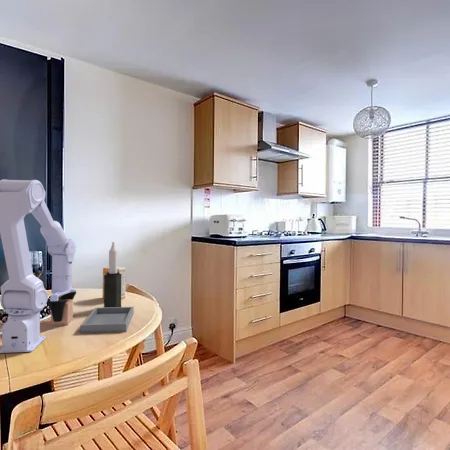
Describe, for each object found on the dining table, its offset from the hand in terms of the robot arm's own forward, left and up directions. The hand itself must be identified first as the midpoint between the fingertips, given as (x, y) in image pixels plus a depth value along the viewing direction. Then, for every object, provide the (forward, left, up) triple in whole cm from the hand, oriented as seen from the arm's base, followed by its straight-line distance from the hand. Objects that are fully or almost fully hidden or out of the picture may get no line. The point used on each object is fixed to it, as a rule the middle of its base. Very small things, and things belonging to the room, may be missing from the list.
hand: (62, 317), depth 105 cm
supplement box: (+29, -11, -2) cm, 31 cm away
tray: (-1, -15, -2) cm, 15 cm away
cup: (0, 0, -2) cm, 2 cm away
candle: (+15, -13, -2) cm, 20 cm away
